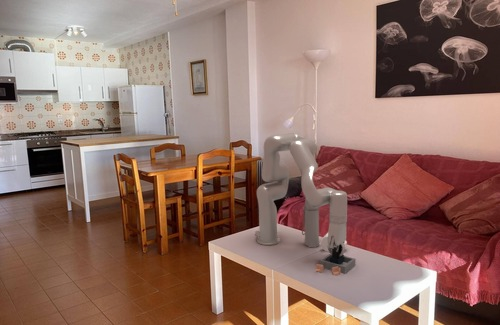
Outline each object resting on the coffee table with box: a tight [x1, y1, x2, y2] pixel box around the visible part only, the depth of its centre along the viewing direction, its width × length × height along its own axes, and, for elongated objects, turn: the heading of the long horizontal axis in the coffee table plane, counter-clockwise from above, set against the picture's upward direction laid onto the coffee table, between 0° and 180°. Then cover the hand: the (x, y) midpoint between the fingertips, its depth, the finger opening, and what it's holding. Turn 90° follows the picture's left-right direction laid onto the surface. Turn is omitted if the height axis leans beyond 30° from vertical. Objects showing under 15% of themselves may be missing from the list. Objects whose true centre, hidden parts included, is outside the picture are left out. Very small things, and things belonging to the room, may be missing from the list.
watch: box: [327, 242, 346, 265], centre depth 171 cm, size 6×8×11 cm
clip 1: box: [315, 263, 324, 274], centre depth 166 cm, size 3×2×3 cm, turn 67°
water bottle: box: [301, 197, 320, 248], centre depth 196 cm, size 9×8×25 cm
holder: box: [319, 253, 356, 274], centre depth 172 cm, size 12×11×3 cm
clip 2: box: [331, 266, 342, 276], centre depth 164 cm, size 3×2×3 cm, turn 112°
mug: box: [320, 232, 348, 253], centre depth 191 cm, size 12×10×8 cm
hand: (337, 257), depth 171 cm, fingers closed on watch, 3 cm apart
